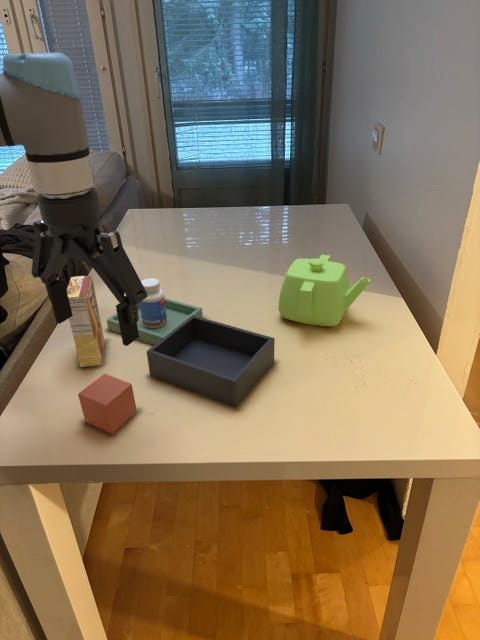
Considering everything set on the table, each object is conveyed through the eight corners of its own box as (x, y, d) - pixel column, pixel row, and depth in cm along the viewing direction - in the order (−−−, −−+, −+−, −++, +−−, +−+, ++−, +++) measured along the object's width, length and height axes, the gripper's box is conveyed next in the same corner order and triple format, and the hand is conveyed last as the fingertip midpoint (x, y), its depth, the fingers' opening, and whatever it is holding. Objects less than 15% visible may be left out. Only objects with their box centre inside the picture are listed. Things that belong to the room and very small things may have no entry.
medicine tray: (108, 329, 101) (106, 319, 100) (148, 302, 111) (147, 293, 110) (165, 348, 94) (164, 338, 93) (202, 318, 104) (202, 308, 103)
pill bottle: (167, 327, 100) (162, 287, 95) (142, 330, 99) (136, 289, 94) (167, 314, 105) (162, 275, 100) (142, 317, 104) (136, 277, 99)
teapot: (370, 301, 109) (377, 249, 102) (356, 347, 93) (363, 289, 86) (294, 289, 115) (296, 239, 108) (268, 331, 99) (269, 275, 92)
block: (85, 421, 77) (77, 393, 74) (110, 400, 81) (104, 373, 78) (112, 434, 74) (105, 405, 71) (137, 411, 78) (131, 383, 75)
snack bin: (150, 375, 87) (146, 351, 84) (194, 337, 98) (192, 314, 95) (236, 407, 79) (235, 381, 76) (274, 362, 89) (274, 338, 87)
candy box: (85, 343, 97) (69, 276, 89) (106, 340, 97) (92, 274, 90) (80, 368, 89) (62, 298, 81) (102, 365, 90) (87, 295, 82)
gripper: (162, 194, 57) (177, 338, 68) (25, 174, 68) (57, 301, 79) (121, 211, 52) (145, 365, 63) (-22, 187, 62) (20, 321, 73)
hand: (96, 329), depth 71 cm, fingers open, 13 cm apart
